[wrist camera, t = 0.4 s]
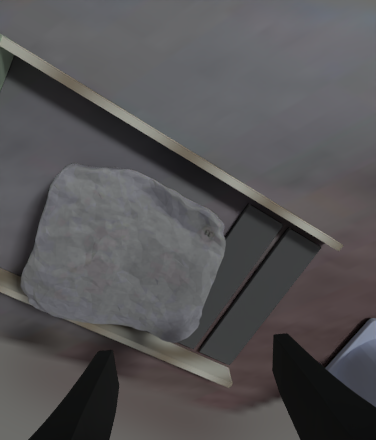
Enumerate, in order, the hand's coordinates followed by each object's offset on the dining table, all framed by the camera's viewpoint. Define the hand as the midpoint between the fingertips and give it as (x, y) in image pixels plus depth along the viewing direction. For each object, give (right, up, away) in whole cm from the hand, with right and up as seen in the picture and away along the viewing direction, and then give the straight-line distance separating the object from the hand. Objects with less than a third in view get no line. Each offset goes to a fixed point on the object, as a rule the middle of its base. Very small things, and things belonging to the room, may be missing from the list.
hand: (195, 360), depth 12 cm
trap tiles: (+4, +1, +9) cm, 10 cm away
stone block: (-4, +5, +8) cm, 10 cm away
